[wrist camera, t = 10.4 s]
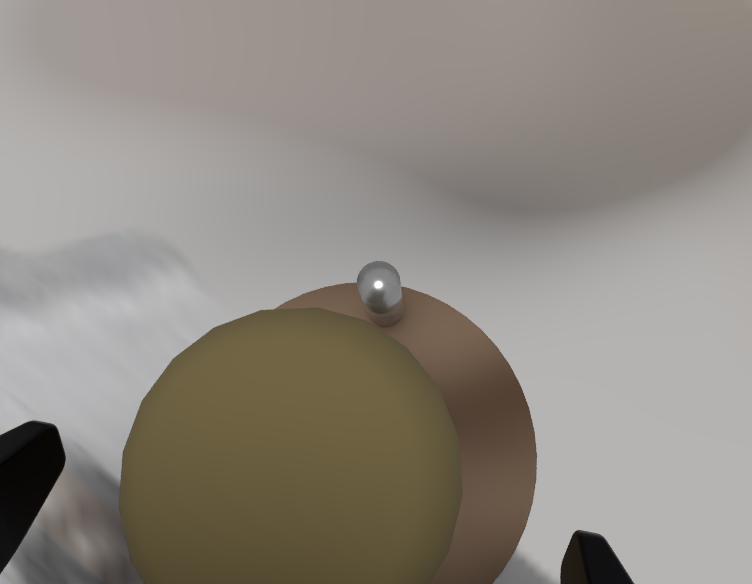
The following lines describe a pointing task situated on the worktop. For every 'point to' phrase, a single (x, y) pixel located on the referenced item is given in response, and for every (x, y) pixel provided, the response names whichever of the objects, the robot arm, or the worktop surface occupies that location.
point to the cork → (291, 459)
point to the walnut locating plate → (457, 413)
